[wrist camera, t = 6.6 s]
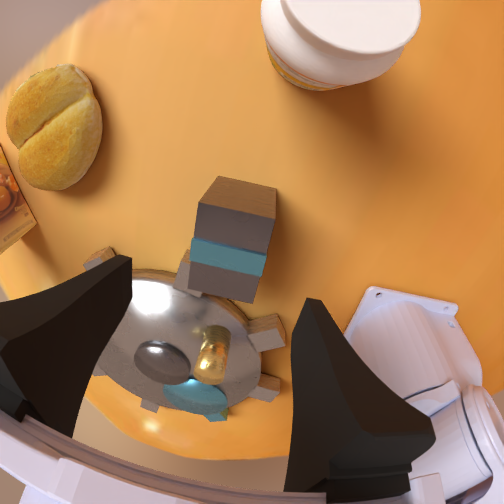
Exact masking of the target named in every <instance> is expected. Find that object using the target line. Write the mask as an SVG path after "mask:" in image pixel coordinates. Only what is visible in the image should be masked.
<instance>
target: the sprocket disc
mask: <svg viewBox="0 0 504 504" xmlns="http://www.w3.org/2000/svg"><path fill="white" fill-rule="evenodd" d="M114 256H115V254H114V252H113V251H112V249H111V247H110V246H109V247H107V248H105V249H103V250H101V251H99V252H97V253H94V254H93V255H92V256H91V257H90V258H89V259H88V260H87V261H86V262H85V263H84V264H83V266H84V267H85V269H86V270H87V271H88V270H90V269H92V268H93V267H95V266H97V265H99V264H101V263H103V262H105V261H107V260H108V259H110V258H112V257H114ZM189 257H190V250H188V249H187V251H186V253H185V255H184V257H183V258H182V260H181V263H180V266H179V269H178V272H177V274H176V273H171V272H167V271H162V270H154V269H134V270H132V288H133V298H132V300H131V302H130V304H129V307H128V309H127V311H126V313H125V315H124V317H123V319H122V321H121V322H120V324H119V325H118V327H117V329H116V330H115V332H114V334H113V335H112V337H111V339H110V340H109V342H108V344H107V345H106V347H105V349H104V350H103V352H102V354H101V355H100V357H99V359H98V361H97V363H96V366H95V368H94V370H93V373H92V374H93V375H94V376H103V375H108V376H109V377H110V378H111V379H113V380H114V381H115V382H116V383H118V384H119V385H120V386H122V387H123V388H125V389H126V390H128V391H129V392H131V393H133V394H135V395H137V396H139V397H140V398H142V401H141V406H140V407H142V408H145V409H147V410H150V411H152V412H155V413H157V411H158V408H159V405H160V406H164V407H168V408H172V409H177V410H183V411H187V412H190V413H194V414H200V415H204V416H205V417H206V418H207V419H208V420H209V421H210V422H214V421H227V415H228V407H231V406H233V405H236V404H237V403H239V402H241V401H243V400H244V399H246V398H247V397H252V398H255V399H259V400H263V401H267V402H271V401H272V400H273V399H274V398H275V397H276V396H277V395H278V394H279V393H280V379H279V378H276V377H272V376H269V375H265V374H262V373H261V363H262V351H266V350H271V349H275V348H279V347H283V346H285V330H284V328H283V326H282V323H281V321H280V319H279V317H278V315H277V314H274V315H270V316H266V317H262V318H258V319H255V320H251V321H249V320H248V319H247V318H246V316H245V315H244V314H243V313H242V312H241V311H240V310H239V309H238V308H237V307H236V306H235V305H234V304H233V303H232V302H231V301H229V300H228V299H226V298H225V297H220V296H216V295H212V294H207V293H203V292H199V291H195V290H191V289H188V279H189V271H190V262H191V261H189Z"/></svg>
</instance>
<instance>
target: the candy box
mask: <svg viewBox="0 0 504 504" xmlns="http://www.w3.org/2000/svg"><path fill="white" fill-rule="evenodd" d="M36 224H37V222H36V221H35V219H34V217H33V215H32V213H31V211H30V209H29V207H28V205H27V203H26V201H25V200H24V198H23V196H22V194H21V192H20V190H19V188H18V185H17V183H16V181H15V179H14V177H13V175H12V173H11V170H10V168H9V166H8V163H7V161H6V158H5V156H4V154H3V151H2V149H1V147H0V254H1V253H3V252H4V251H5V250H6V249H8V248H9V247H10V246H11V245H13V244H14V243H15V242H17V241H18V240H19V239H20V238H21V237H22V236H23V235H25V234H26V233H27V232H28V231H29V230H30V229H31V228H33V227H34V226H35V225H36Z"/></svg>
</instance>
